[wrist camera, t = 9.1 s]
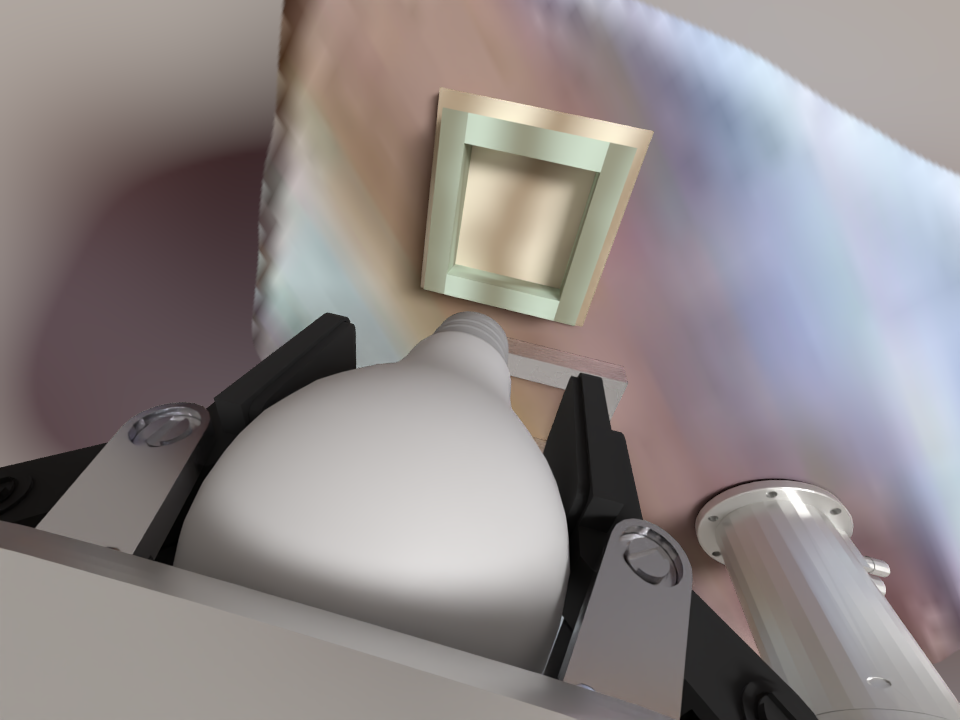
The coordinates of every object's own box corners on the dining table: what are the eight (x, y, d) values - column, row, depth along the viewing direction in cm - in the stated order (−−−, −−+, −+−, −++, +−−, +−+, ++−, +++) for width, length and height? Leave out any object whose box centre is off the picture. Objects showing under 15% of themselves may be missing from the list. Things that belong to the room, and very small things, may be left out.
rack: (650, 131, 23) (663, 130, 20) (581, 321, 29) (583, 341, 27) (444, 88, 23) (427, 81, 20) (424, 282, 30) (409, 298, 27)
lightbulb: (487, 428, 15) (380, 867, 6) (365, 336, 14) (0, 714, 5) (602, 333, 12) (733, 920, 3) (460, 205, 11) (-28, 552, 2)
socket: (623, 366, 31) (628, 383, 29) (577, 465, 37) (578, 484, 35) (483, 331, 32) (477, 345, 29) (461, 433, 38) (455, 451, 36)
